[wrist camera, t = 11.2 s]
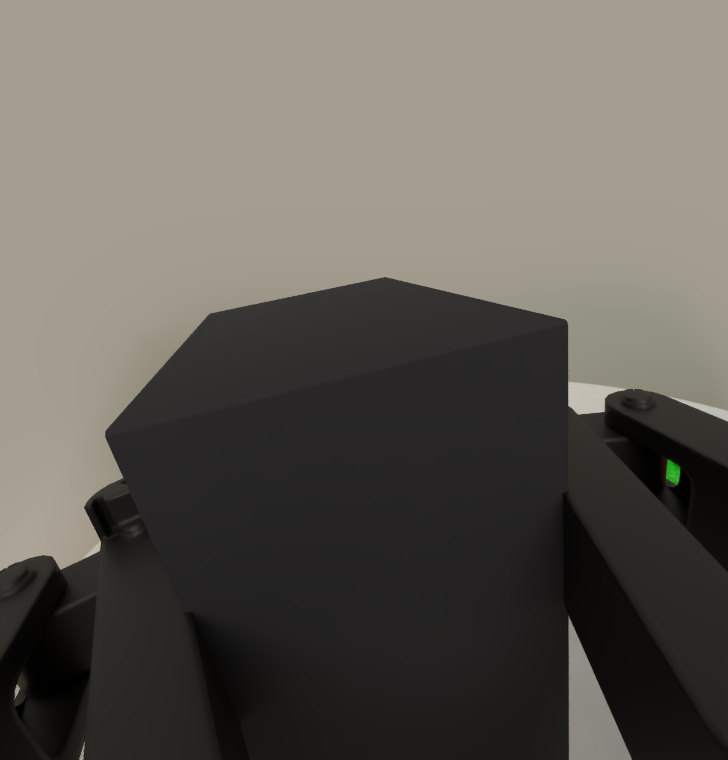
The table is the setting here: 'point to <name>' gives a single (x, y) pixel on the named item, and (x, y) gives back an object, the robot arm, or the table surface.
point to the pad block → (368, 519)
